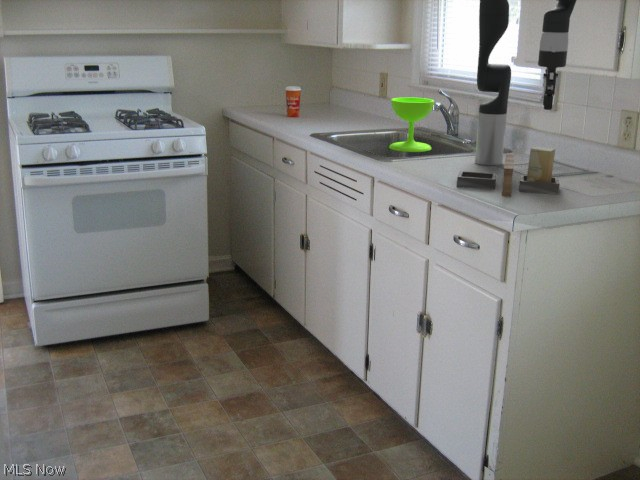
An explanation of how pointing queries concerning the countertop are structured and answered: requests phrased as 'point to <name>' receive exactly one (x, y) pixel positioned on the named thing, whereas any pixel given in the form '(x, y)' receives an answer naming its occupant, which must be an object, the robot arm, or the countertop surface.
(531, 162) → the skincare box
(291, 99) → the paper cup
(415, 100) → the wineglass
